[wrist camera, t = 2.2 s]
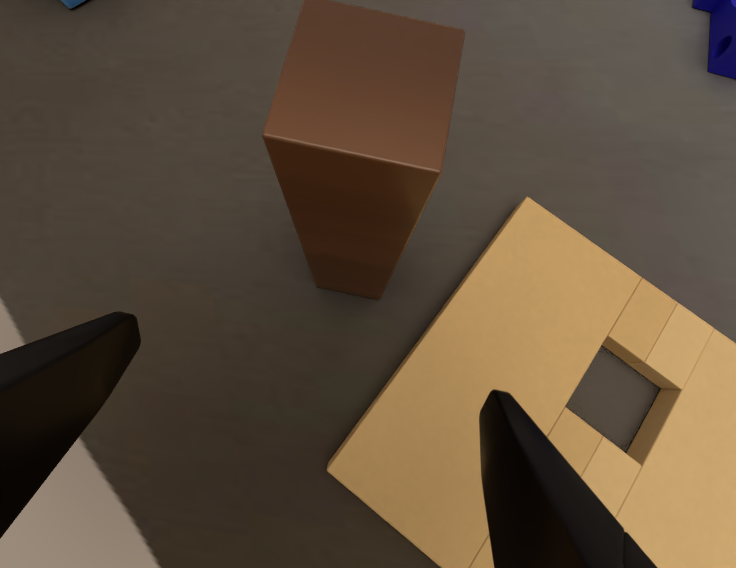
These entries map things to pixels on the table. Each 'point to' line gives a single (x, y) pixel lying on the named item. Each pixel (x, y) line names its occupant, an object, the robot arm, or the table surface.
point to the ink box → (72, 3)
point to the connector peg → (361, 136)
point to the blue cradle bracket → (721, 35)
